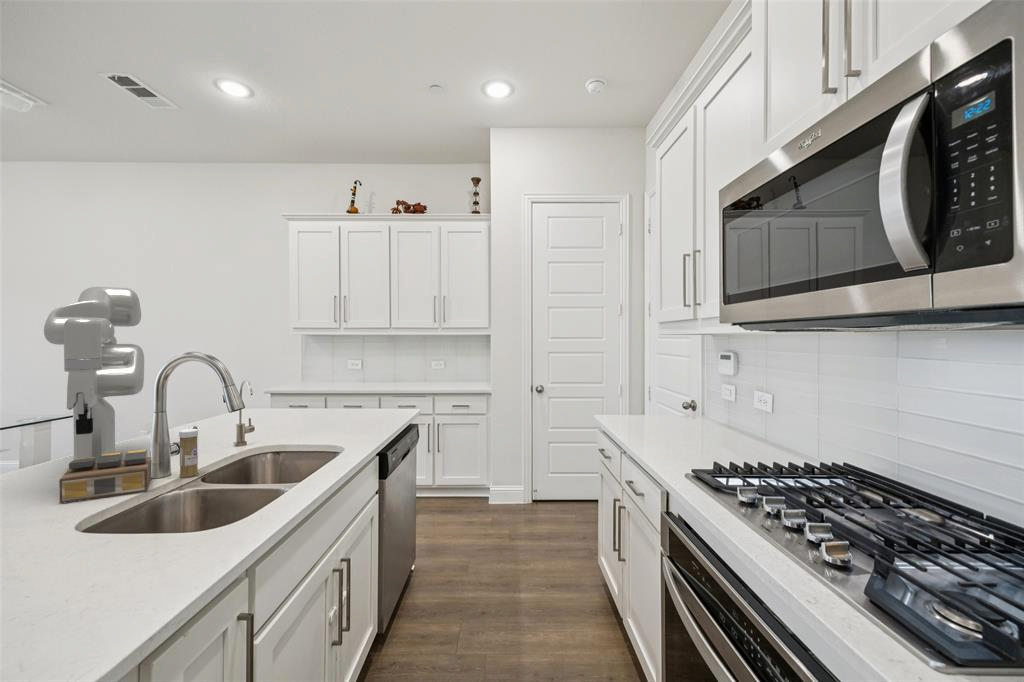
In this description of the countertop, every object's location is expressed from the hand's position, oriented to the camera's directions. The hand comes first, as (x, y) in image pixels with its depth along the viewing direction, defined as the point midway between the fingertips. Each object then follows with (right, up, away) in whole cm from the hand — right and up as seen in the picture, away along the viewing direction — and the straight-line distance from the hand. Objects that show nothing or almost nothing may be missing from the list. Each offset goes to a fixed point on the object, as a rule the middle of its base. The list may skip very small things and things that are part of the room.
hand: (84, 433), depth 128 cm
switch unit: (+7, -15, -1) cm, 17 cm away
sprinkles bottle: (+19, -15, +12) cm, 28 cm away
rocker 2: (+6, -8, +1) cm, 10 cm away
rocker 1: (+2, -8, -2) cm, 8 cm away
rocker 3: (+11, -8, +4) cm, 14 cm away
